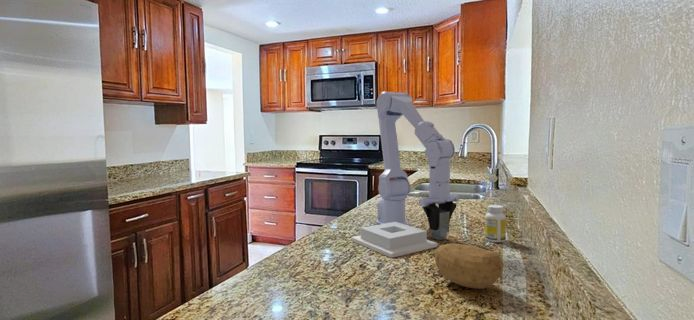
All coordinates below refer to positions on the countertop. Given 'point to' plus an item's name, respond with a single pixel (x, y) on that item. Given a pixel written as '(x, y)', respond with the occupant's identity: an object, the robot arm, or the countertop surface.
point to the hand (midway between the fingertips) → (439, 228)
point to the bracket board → (396, 251)
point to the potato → (468, 265)
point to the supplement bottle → (495, 224)
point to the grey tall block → (441, 226)
